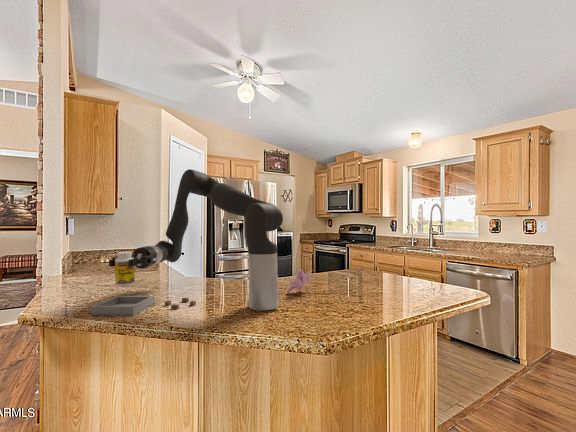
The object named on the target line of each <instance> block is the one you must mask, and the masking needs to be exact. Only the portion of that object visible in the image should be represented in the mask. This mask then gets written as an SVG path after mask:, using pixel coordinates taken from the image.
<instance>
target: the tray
mask: <svg viewBox="0 0 576 432" xmlns="http://www.w3.org/2000/svg"><path fill="white" fill-rule="evenodd" d="M155 303H156V297H155V295H117V296H114V297H112V298H109V299H106V300H104V301H102V302H99V303H97V304H95V305H91V306H90V315H91V316H98V317H99V316H101V317H102V316H110V317H111V316H113V317H114V316H115V317H116V315H117V316H119V315H120V316H119V317H121V315H122V316H123V315H124V316H123V317H125V316H127V317H129V316H131V317H132V316H135V315H137V314H139V313H141V312H143V311H144V310H146V309H148V308H150V307H151V306H153V305H155Z"/></svg>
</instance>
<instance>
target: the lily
mask: <svg viewBox="0 0 576 432" xmlns="http://www.w3.org/2000/svg"><path fill="white" fill-rule="evenodd" d="M312 271H313V269H310V270H308V271H306V273H305V272H304V271H303V269H302V268H299V269H298V270H297V273H296V275H295V279H294V280H292V281H290V282H289V283H288V285H289V286H290V287H288V290H287V291H286V294H289V293H291V292H292V291H293V290H295V289H297V290H298V291H299V292H301V291H302V289H303V287H304V288H305V290H306V292H307V294H308V295H310V293H309V291H308V288H307V287H306V282H308V281H310V280H311V279H313V277H312V276H310V274H311V273H312Z"/></svg>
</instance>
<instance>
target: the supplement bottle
mask: <svg viewBox="0 0 576 432" xmlns="http://www.w3.org/2000/svg"><path fill="white" fill-rule="evenodd" d="M132 253H133V252H132V251H119V252H117V256H118V259H116V260H115V266H114V284H115V285H116V286H119V287H124V286H129V285H130V286H131V285H133V284H134V283H135V282H136V278H135V277H136V274H135V268H136V267H135V266H132V267H129V266H128V260H130V259H134V258H131V257H132Z"/></svg>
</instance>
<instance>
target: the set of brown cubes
mask: <svg viewBox="0 0 576 432" xmlns="http://www.w3.org/2000/svg"><path fill="white" fill-rule="evenodd" d="M188 302H189V307H195V306H196V303H197V301H196V300H191V301H190V298H189V297H182V298H181V303H188ZM164 306H165V307H169V306H170V309H171V310H179V309H180V304H178V303H177V304H172V300H166V301H165V302H164Z"/></svg>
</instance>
